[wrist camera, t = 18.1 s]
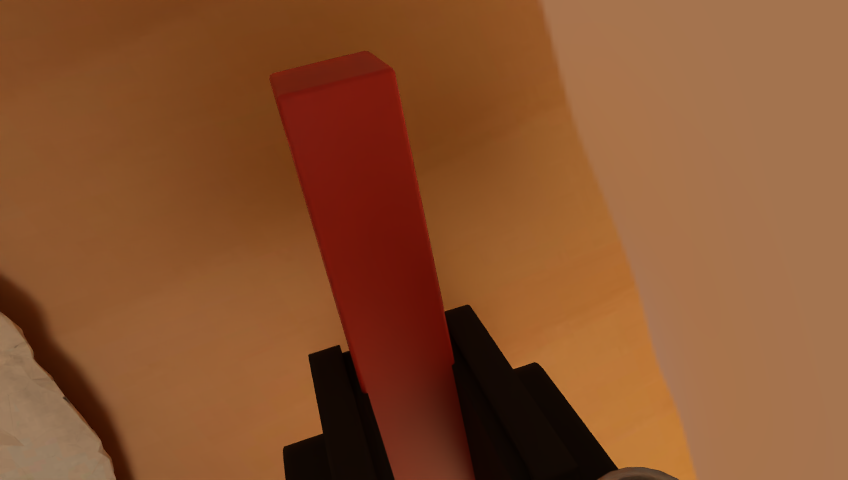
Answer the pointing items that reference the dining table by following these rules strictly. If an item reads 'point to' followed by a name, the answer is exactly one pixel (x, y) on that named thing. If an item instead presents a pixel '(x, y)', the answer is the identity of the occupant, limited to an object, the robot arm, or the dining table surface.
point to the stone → (41, 421)
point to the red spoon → (377, 255)
